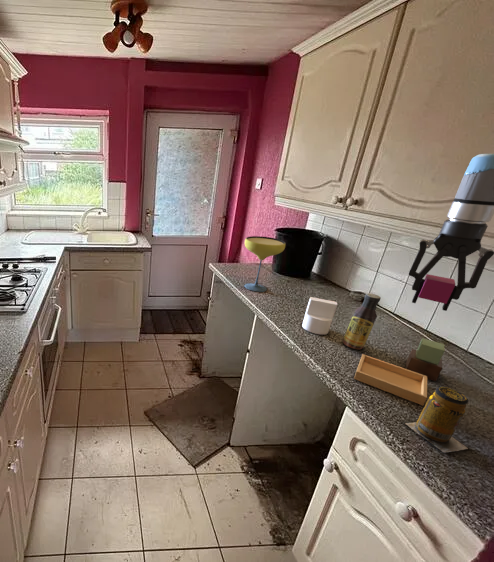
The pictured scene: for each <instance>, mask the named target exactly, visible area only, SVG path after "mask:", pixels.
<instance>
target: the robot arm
mask: <svg viewBox="0 0 494 562" xmlns="http://www.w3.org/2000/svg"><path fill="white" fill-rule="evenodd" d="M450 205H451V206H450V207H449V210H448V212H447V214H446V217H447V218H448V219H446V220H444V222H443V224H442V226H441V229H440V231H439V233H438V235H437V236H436V237H435V238H434V239H427V240H426V239H421V240H420V241H419V250H418V252H417V254H416V257H415V258H414V260H413V262H412V264H411V267H410V269H409V271H408V276H409V277H412V278H414V281H413V283H412V286H411V290H412V291H414V292H415V293H414V295H413V298H412V300H411V303H412V304H416V303H417V301H418V299H419V294H420V292H421V289H422V287H423V285H424V282H425V277H426V275H427V274H429V272H430V271H431V270H432V269H433V268H434V267H435V266H436V265H437V263H438V262H440V261H441V259H442V258H444V257H445V258H452V259H456V260H457V282H456V283H457V284H456V285H455V287H454V289H453V291H452V293H451V295H450V297H449V300H448V302H447V304H444V303H443V305H442V309H441V310H442V311H445V312H446V311H448V308H449V307H450V305H451V302H452V300H455V301H457V300H459V299H460V297H461V295H462V293H463V291H464V290H465V289H476V288H477V285H478V284H479V282H480V279H481V276H482V274H483V272H484V269H485V266H487V263H488V261H489V260H490V259H491V258H493V256H494V250H493V249H490V248H485V247H483V246H482V242H481V241H482V240H483V238H484V235H485V233H486V231H487V229H488V227H489V226H488V224H487V223H489V222H491V221H492V219H493V216H494V153H479V154H477V155H475V156H474V157H472V158H471V160H470V162H469V164H468V166H467V168H466V170H465V172H464V174H463V175H462V179H461V181H460V183H459V186H458V189H457V191H456V193H455V197H454V198H453V201H452V203H451V204H450ZM432 245H434V247H435V249H436V251H437V252H436V253H435V254H434V255H433V256H432V258H431V259H430V260H429V261H428V262H427V263H426V264H425V265H424V267H423V268H422V269H421V270H420V271H419V272H417V270H418V268H419V267H420V264H421V262H422V260H423V257H424V256H425V254H426V251H427V249H430V248H431V246H432ZM477 251H478V256H479V258H478V259H477V262H476V264H475V266H474V268H473V272H472V274H471V276H470V279H469V281H466V271H467V270H466V267H467V265H466V264H467V257H469V256H471V255H472V254H474V253H475V252H477Z"/></svg>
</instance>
